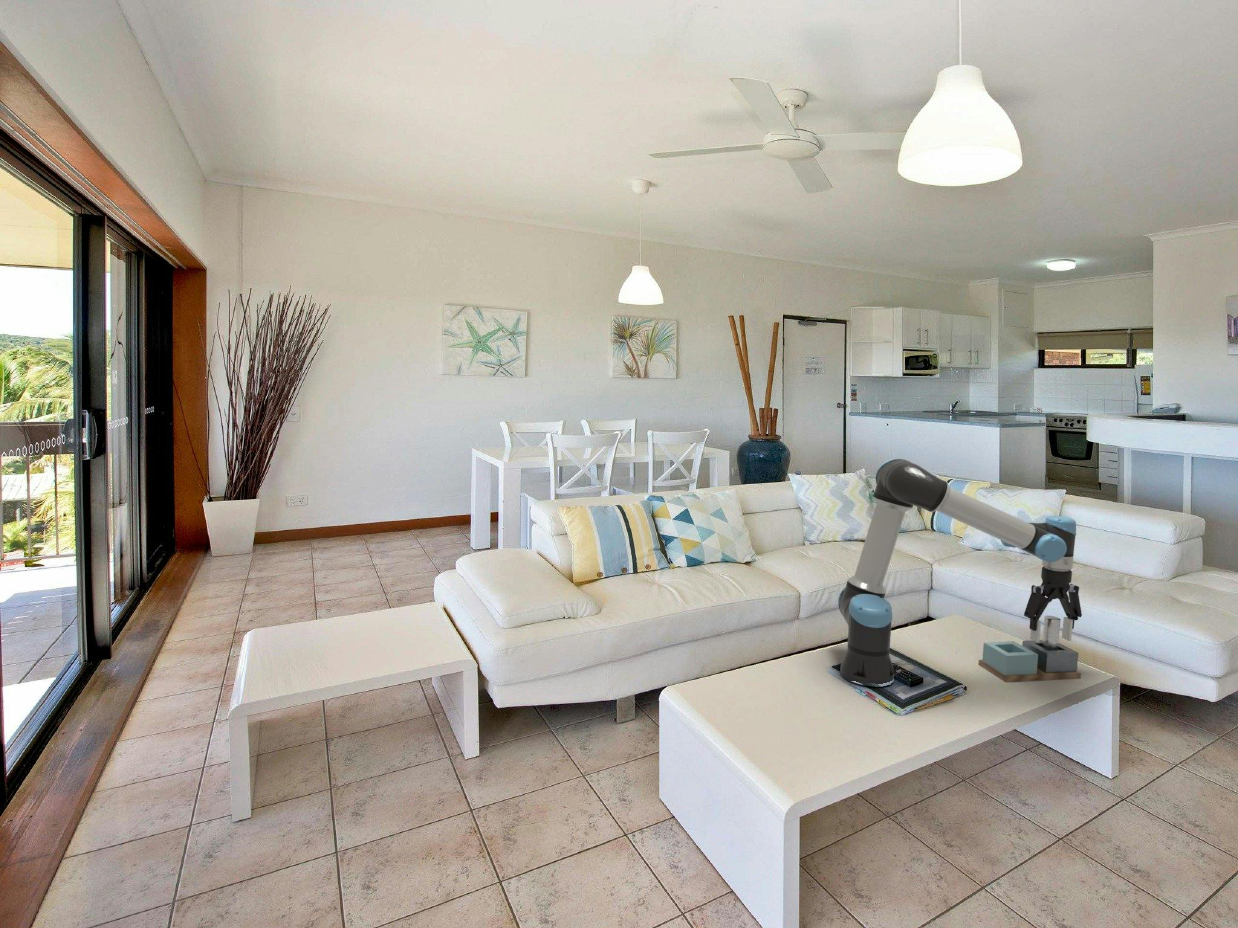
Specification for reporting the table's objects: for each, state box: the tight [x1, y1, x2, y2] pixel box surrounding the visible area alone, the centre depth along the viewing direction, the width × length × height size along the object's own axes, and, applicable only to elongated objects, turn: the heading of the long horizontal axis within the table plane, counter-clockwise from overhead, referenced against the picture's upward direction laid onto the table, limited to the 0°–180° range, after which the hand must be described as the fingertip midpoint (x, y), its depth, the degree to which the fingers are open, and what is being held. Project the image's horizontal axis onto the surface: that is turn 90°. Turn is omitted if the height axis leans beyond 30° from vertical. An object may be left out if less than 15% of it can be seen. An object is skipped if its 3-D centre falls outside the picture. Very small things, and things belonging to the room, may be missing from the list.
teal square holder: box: [981, 640, 1038, 675], centre depth 195 cm, size 10×10×6 cm
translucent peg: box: [1042, 615, 1062, 651], centre depth 195 cm, size 4×4×14 cm
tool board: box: [978, 659, 1082, 683], centre depth 196 cm, size 24×12×2 cm, turn 96°
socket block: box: [1021, 639, 1079, 673], centre depth 196 cm, size 10×10×6 cm
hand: (1050, 639), depth 195 cm, fingers open, 10 cm apart
